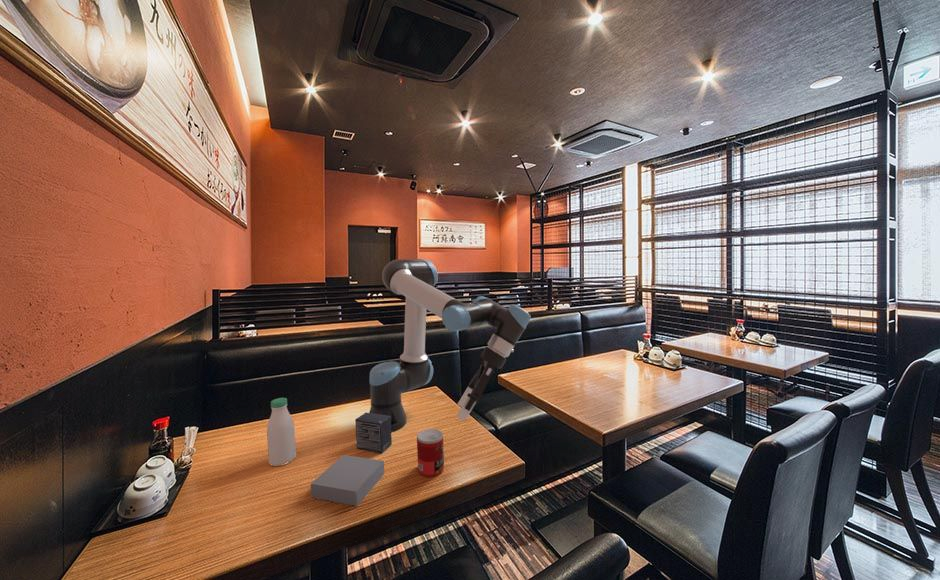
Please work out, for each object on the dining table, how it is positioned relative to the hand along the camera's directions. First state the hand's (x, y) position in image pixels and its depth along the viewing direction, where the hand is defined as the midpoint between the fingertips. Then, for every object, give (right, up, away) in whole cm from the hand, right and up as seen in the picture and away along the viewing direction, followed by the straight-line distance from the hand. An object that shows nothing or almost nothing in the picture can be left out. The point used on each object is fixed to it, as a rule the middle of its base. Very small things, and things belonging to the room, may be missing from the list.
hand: (460, 412), depth 102 cm
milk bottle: (-58, -18, +7) cm, 61 cm away
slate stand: (-31, -18, -6) cm, 37 cm away
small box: (-30, -17, +14) cm, 37 cm away
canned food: (-9, -18, 0) cm, 20 cm away
